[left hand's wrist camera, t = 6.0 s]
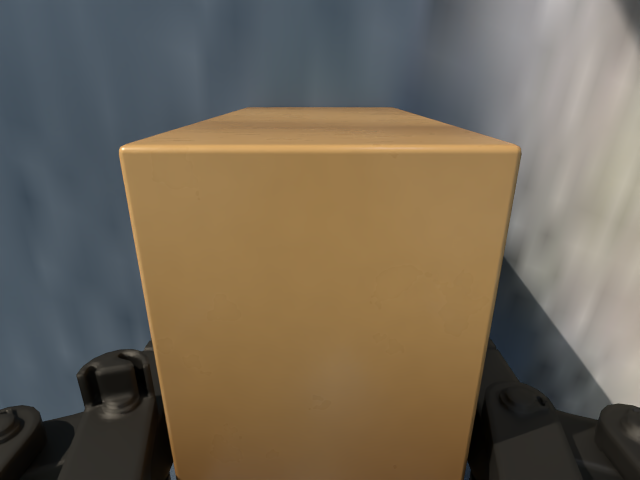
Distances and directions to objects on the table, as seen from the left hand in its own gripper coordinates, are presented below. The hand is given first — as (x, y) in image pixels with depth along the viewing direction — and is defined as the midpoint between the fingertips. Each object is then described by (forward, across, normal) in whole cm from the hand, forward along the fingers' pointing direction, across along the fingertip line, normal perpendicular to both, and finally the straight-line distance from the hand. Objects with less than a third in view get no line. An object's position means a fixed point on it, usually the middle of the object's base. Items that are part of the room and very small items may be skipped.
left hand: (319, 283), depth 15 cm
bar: (+1, 0, -19) cm, 19 cm away
